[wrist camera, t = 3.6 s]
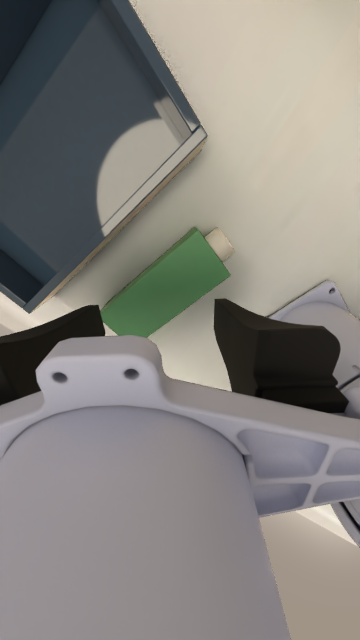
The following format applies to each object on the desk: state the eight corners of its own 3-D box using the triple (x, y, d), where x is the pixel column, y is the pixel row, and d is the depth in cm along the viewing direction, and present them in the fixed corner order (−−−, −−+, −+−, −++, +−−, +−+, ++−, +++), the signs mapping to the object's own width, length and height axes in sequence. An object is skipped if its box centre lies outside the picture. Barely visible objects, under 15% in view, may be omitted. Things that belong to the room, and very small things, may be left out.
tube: (207, 215, 16) (213, 216, 14) (236, 257, 18) (245, 264, 15) (100, 308, 20) (90, 321, 17) (132, 336, 21) (126, 352, 19)
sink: (201, 151, 14) (208, 135, 11) (53, 296, 19) (29, 314, 16) (76, -52, 10) (33, -163, 7) (-69, 192, 15) (-135, 188, 12)
